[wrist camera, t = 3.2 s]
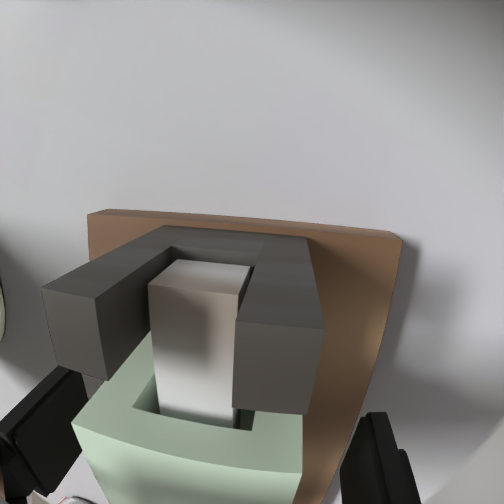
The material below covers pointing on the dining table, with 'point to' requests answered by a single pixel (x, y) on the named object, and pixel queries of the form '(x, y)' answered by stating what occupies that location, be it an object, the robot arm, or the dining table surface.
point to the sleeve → (183, 447)
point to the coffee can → (2, 314)
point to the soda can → (73, 501)
